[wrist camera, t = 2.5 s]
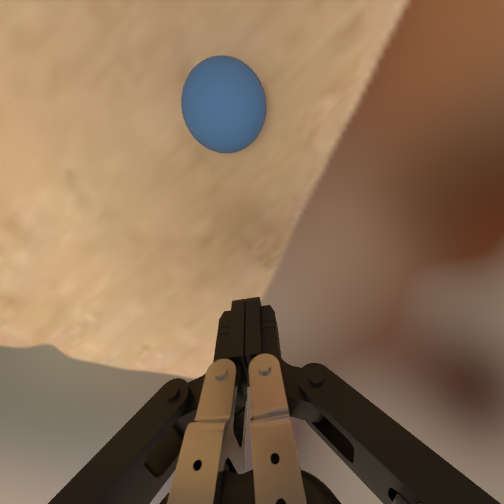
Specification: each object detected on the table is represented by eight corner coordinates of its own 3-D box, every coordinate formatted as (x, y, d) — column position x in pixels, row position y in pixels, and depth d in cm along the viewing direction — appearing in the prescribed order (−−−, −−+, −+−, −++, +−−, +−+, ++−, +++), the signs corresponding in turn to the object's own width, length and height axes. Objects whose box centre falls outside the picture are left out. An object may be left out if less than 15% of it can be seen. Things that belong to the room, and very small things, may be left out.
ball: (180, 71, 19) (155, 61, 14) (257, 53, 19) (260, 36, 14) (202, 152, 22) (188, 168, 17) (269, 138, 22) (274, 151, 17)
